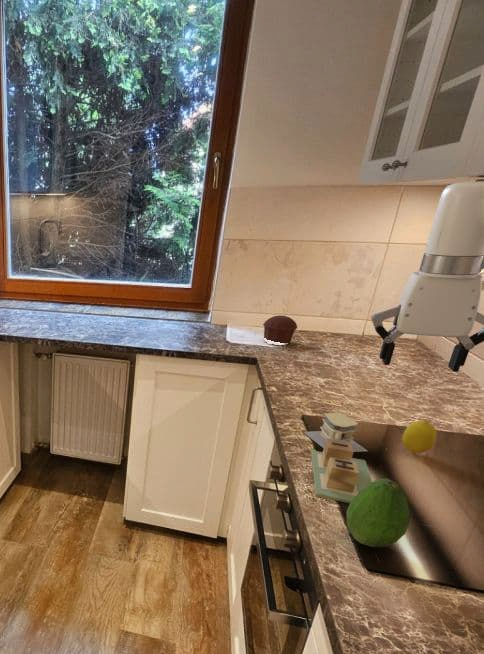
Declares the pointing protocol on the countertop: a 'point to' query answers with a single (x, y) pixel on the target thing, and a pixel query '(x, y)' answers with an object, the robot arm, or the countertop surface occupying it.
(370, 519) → the avocado
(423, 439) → the lemon
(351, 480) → the light brown block
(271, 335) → the muffin
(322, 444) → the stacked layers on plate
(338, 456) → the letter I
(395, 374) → the countertop surface
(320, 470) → the word mat
